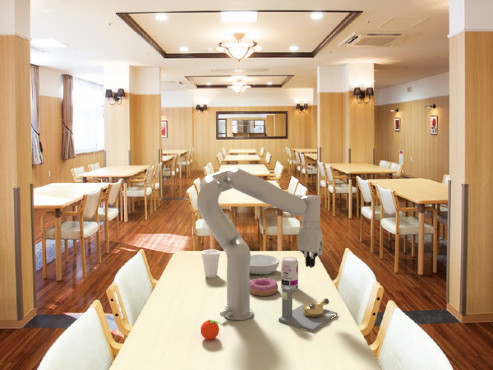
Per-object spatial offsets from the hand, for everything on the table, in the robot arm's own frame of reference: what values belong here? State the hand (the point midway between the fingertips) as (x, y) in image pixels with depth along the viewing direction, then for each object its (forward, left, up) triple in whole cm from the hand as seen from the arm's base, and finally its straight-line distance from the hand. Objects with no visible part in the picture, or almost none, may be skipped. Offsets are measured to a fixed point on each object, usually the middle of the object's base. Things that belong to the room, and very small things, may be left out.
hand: (310, 266), depth 192 cm
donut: (+4, +29, -20) cm, 35 cm away
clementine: (-46, +15, -19) cm, 52 cm away
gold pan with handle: (-2, -5, -18) cm, 19 cm away
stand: (-8, -4, -19) cm, 21 cm away
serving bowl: (+28, +48, -19) cm, 58 cm away
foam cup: (+6, +65, -19) cm, 68 cm away
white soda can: (+16, +21, -19) cm, 32 cm away
